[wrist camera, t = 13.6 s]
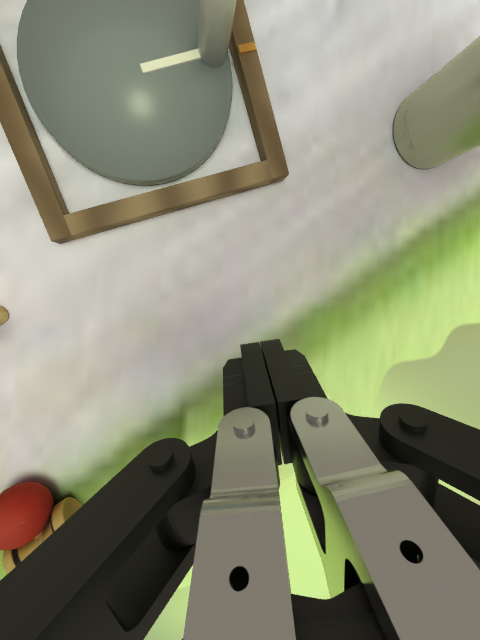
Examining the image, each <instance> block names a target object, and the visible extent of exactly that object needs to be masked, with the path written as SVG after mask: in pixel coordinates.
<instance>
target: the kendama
mask: <svg viewBox="0 0 480 640" xmlns="http://www.w3.org/2000/svg"><path fill="white" fill-rule="evenodd" d="M82 506H83V505H82V504H81V503H80V502H79V501H78V500H77V499H75V498H72V497H67V498H65V499H64V500H62V501H61V502H59V503H58V504H56V505H55V506H54V507H53V497H52V494H51V492H50V491H49V489H48V488H47V487H46V486H44V485H43V484H40V483H37V482H23V483H19V484H17V485H14V486H12V487H10V488H8V489H6V490H4V491H3V492H2V493H1V494H0V550H4V553H3V566H4V569H5V571H6V573H7V574H8V573H9V572H10V571H12V570H13V569H14V568H15V567H16V566H17V565H18V564H19V563H20V562H21V561H23V560H24V559H25V558H26V557H27V556H28V555H29V554H30V553H31V552H32V551H33V550H35V549H36V548H37V547H38V546H39V545H40V544H41V543H42V542H43V541H44V540H46V539H47V538H48V537H49V536H50V535H51V534H52V533H53V532H54V531H55V530H56V529H58V528H59V527H60V526H61V525H62V524H63V523H64V522H65V521H66V520H67V519H69V518H70V517H71V516H72V515H73V514H74V513H75V512H76V511H77V510H78V509H80V508H81V507H82Z"/></svg>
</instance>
